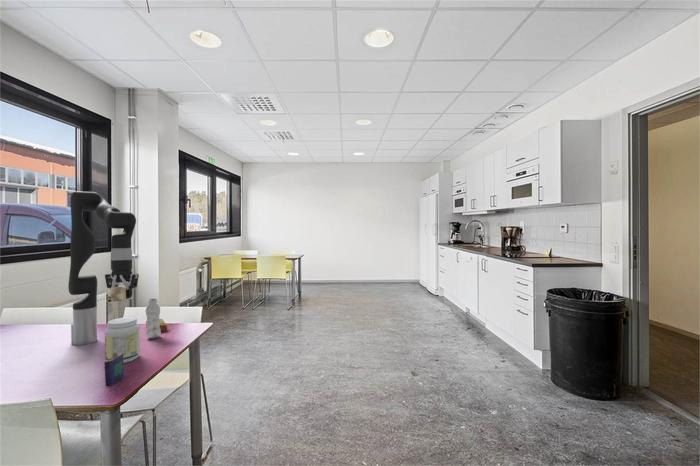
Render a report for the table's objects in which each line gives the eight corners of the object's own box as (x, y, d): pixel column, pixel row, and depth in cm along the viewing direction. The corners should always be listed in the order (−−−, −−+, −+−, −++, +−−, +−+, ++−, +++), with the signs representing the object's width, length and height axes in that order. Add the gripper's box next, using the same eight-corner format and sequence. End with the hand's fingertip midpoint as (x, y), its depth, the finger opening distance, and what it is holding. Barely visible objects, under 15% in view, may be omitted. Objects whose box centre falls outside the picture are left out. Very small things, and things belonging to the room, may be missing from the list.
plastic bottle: (154, 340, 161) (153, 300, 161) (142, 339, 163) (142, 300, 162) (164, 336, 168) (163, 298, 167) (152, 335, 169) (152, 297, 169)
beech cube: (110, 301, 135) (110, 288, 135) (121, 298, 140) (120, 285, 140) (122, 301, 135) (122, 288, 134) (132, 298, 140) (132, 285, 140)
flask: (118, 375, 122) (117, 347, 122) (126, 375, 122) (126, 347, 122) (103, 387, 113) (102, 357, 113) (112, 386, 113) (111, 356, 113)
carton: (162, 325, 189) (162, 318, 189) (167, 332, 176) (167, 324, 176) (145, 328, 184) (145, 320, 184) (149, 335, 171) (149, 327, 171)
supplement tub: (110, 356, 141) (109, 318, 141) (142, 352, 146) (142, 315, 146) (100, 367, 130) (100, 325, 130) (136, 362, 134) (135, 322, 134)
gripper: (98, 259, 134) (98, 299, 134) (130, 259, 133) (131, 300, 133) (113, 257, 142) (113, 296, 142) (143, 258, 141) (144, 296, 141)
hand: (122, 297), depth 138 cm, fingers closed on beech cube, 5 cm apart
